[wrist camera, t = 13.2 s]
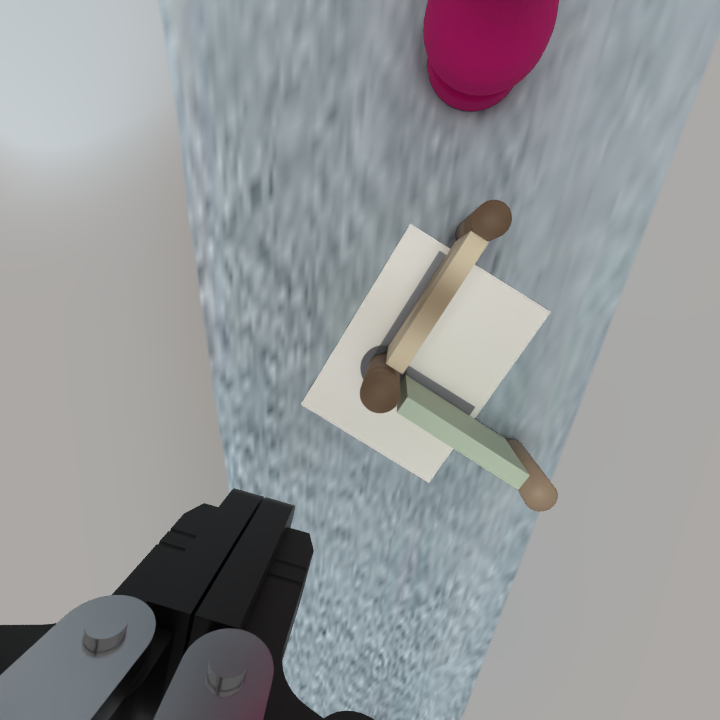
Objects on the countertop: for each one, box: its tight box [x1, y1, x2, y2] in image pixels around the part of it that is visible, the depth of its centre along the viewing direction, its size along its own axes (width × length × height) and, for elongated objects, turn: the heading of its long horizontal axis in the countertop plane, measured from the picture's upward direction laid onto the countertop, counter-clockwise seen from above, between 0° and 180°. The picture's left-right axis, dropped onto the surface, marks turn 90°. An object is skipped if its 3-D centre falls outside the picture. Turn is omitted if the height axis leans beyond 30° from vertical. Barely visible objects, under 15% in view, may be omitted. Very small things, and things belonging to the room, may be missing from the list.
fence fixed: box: [360, 200, 512, 413], centre depth 28 cm, size 14×2×8 cm, turn 149°
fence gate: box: [397, 375, 558, 511], centre depth 29 cm, size 11×2×7 cm, turn 58°
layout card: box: [301, 224, 551, 483], centre depth 32 cm, size 16×12×1 cm
